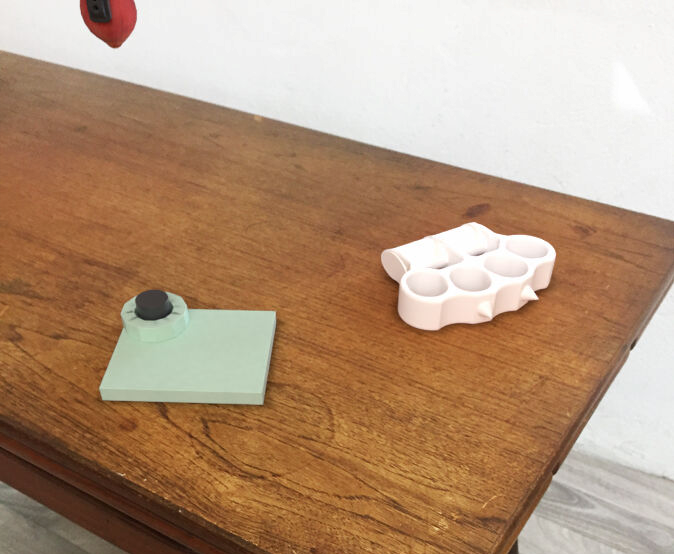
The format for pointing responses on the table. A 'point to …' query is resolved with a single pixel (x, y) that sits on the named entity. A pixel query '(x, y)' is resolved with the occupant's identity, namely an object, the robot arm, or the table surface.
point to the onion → (113, 22)
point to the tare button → (152, 305)
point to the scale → (191, 356)
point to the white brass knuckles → (467, 275)
